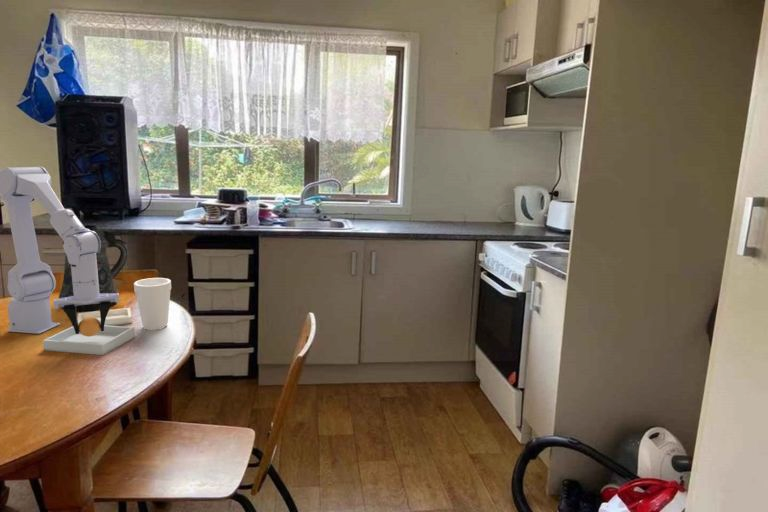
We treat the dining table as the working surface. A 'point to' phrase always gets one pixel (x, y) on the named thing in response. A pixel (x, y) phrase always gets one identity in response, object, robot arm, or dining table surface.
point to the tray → (89, 340)
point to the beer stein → (102, 266)
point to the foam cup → (153, 301)
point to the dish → (110, 316)
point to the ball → (89, 326)
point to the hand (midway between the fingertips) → (90, 331)
